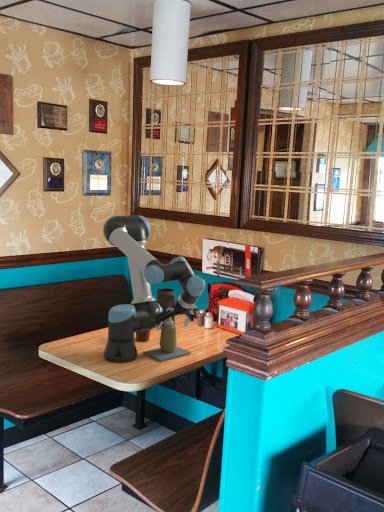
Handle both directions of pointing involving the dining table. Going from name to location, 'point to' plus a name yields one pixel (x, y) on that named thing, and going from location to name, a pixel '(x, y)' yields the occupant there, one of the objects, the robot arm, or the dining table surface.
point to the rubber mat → (166, 354)
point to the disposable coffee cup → (143, 335)
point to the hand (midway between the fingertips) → (171, 325)
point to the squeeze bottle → (168, 336)
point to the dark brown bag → (166, 299)
